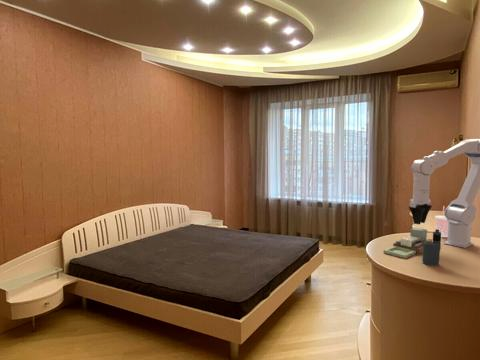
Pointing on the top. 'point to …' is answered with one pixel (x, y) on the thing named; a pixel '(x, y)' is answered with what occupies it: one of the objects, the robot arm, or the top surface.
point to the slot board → (416, 247)
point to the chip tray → (399, 252)
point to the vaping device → (432, 249)
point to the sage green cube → (419, 233)
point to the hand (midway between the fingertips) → (419, 223)
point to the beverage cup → (442, 224)
